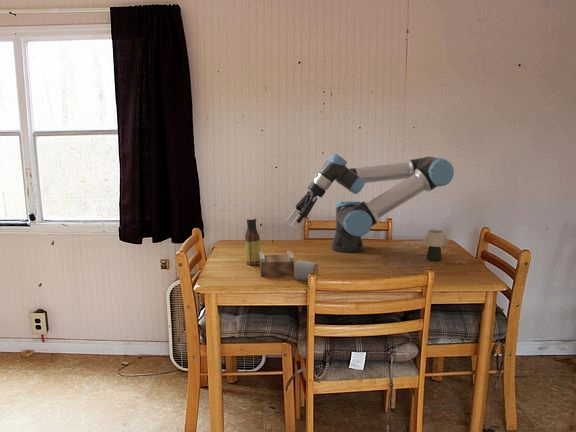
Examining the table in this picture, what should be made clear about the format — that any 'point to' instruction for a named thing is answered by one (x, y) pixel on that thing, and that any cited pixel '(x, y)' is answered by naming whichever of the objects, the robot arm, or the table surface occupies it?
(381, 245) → the table surface
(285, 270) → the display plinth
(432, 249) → the character mug
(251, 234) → the sauce bottle
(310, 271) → the ceramic mug
